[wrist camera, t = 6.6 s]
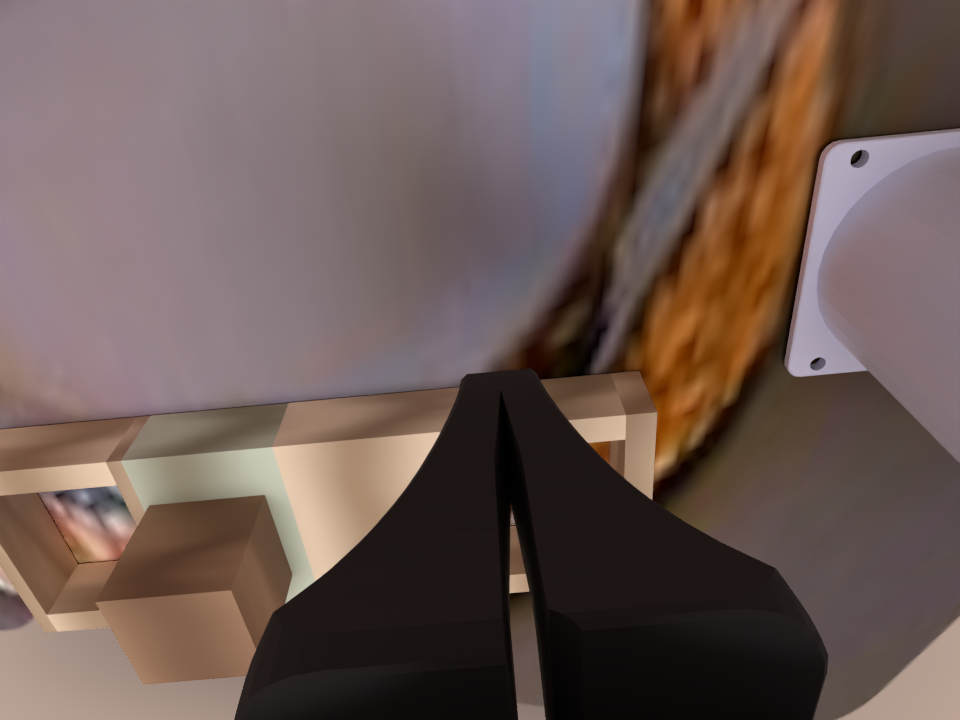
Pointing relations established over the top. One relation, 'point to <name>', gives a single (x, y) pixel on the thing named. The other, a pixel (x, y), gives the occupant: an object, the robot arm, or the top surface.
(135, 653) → the walnut block
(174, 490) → the frame
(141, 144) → the top surface
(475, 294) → the top surface
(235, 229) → the top surface
